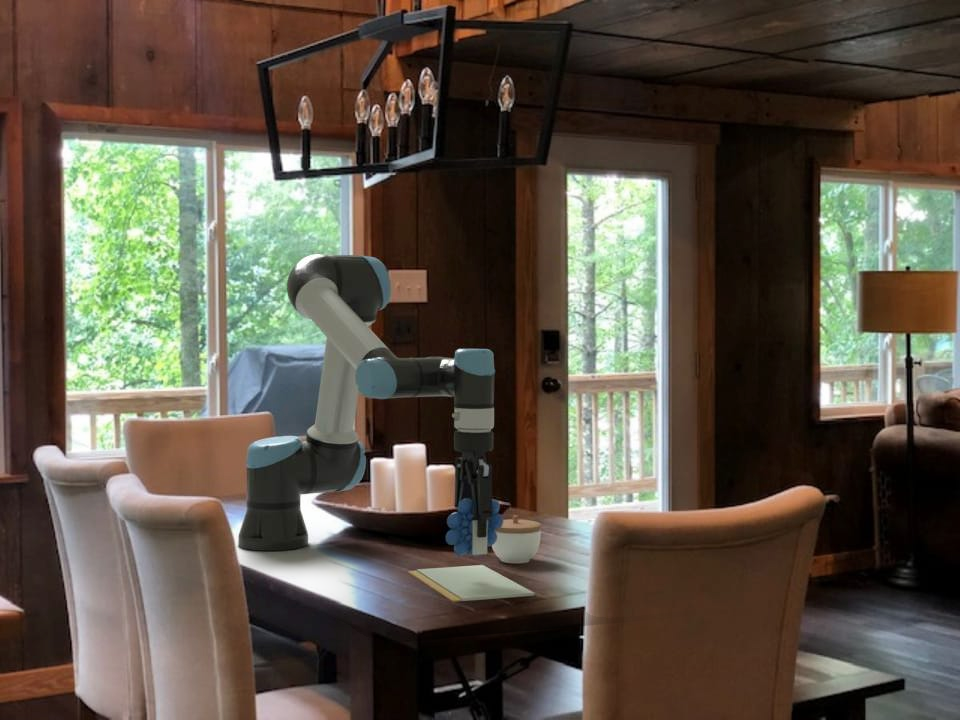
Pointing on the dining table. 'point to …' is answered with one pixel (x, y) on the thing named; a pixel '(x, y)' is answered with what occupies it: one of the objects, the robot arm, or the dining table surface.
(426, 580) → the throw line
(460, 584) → the mat
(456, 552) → the grapes
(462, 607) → the dining table surface
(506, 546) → the lidded jar
